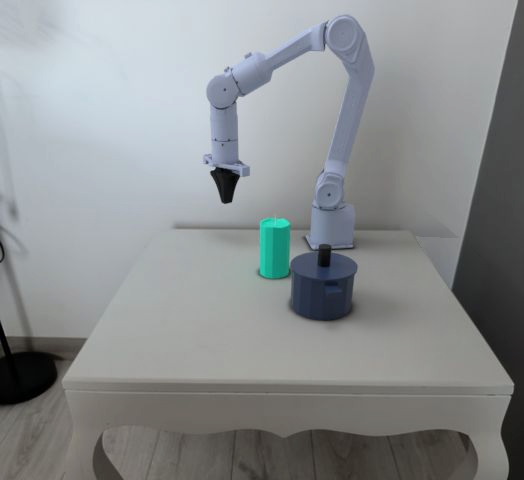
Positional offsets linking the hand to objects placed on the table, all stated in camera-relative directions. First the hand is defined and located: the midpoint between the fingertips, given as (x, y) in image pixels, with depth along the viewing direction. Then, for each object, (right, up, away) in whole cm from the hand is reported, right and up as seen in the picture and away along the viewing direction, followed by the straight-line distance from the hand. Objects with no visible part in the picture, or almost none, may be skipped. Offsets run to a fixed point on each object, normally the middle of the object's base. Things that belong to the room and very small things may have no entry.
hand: (226, 202), depth 116 cm
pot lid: (+19, -19, -27) cm, 38 cm away
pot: (+19, -25, -23) cm, 39 cm away
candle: (+10, -18, -11) cm, 23 cm away
